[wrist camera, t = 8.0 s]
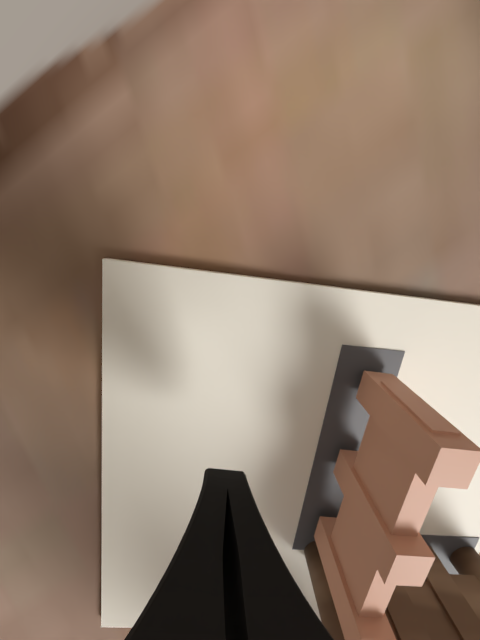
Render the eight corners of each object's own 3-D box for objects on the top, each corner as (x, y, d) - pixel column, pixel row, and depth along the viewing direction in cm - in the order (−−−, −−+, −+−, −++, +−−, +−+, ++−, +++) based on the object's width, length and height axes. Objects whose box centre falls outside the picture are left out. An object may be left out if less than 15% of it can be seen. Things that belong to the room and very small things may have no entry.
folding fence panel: (337, 539, 16) (385, 665, 12) (313, 537, 16) (351, 664, 12) (393, 372, 14) (485, 449, 9) (364, 368, 13) (442, 444, 9)
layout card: (436, 624, 20) (441, 633, 20) (103, 618, 18) (100, 628, 18) (582, 317, 14) (593, 320, 14) (105, 257, 12) (102, 258, 12)
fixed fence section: (469, 565, 18) (583, 719, 13) (301, 559, 17) (340, 722, 12) (479, 546, 18) (601, 696, 12) (306, 538, 17) (350, 697, 11)
